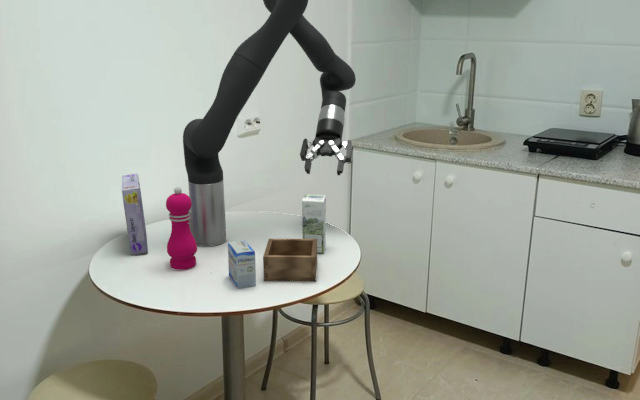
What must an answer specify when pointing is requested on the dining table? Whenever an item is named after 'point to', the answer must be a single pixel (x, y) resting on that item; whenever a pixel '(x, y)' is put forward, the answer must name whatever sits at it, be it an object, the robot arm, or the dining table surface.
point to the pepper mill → (180, 232)
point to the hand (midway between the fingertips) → (323, 173)
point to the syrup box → (314, 219)
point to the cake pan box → (134, 214)
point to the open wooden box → (290, 260)
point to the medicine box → (241, 264)
